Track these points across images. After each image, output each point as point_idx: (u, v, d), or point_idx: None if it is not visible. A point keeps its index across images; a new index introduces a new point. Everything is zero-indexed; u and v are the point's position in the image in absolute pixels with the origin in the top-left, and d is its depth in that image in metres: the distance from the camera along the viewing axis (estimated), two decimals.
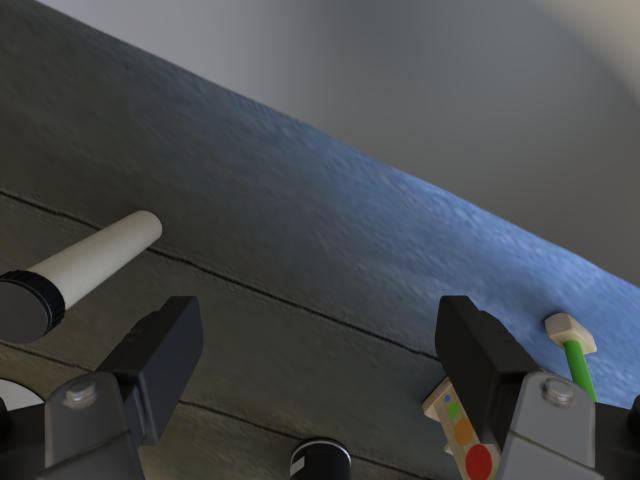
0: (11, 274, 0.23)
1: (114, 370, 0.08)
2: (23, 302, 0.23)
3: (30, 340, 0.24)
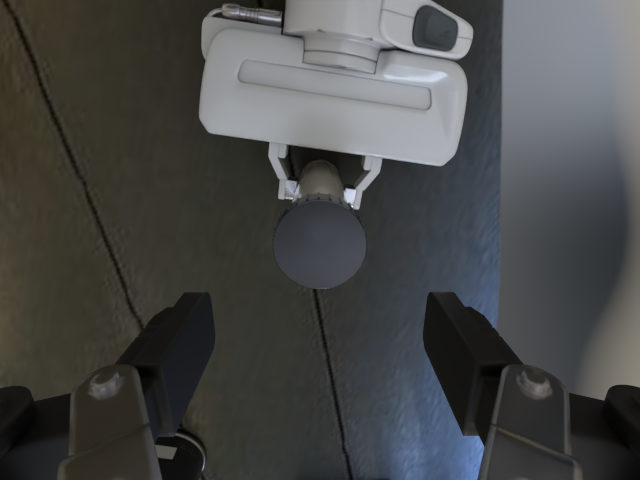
0: (357, 215, 0.18)
1: (134, 363, 0.08)
2: (346, 255, 0.18)
3: (293, 278, 0.18)
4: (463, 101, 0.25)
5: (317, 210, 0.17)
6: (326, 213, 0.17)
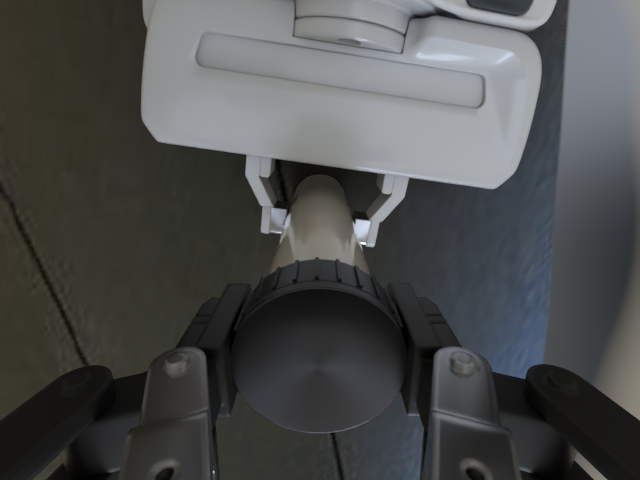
0: None
1: (198, 346, 0.08)
2: (368, 381, 0.09)
3: (271, 418, 0.10)
4: (534, 95, 0.17)
5: (314, 304, 0.09)
6: (332, 309, 0.09)
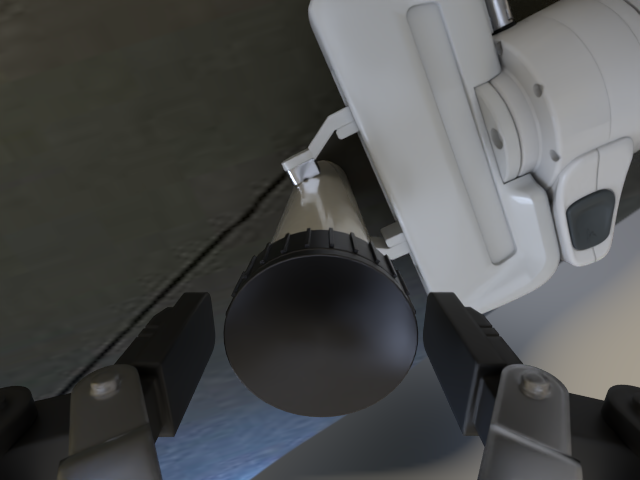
0: None
1: (134, 363, 0.08)
2: (373, 320, 0.08)
3: (335, 413, 0.09)
4: (523, 293, 0.20)
5: (256, 301, 0.08)
6: (273, 292, 0.08)
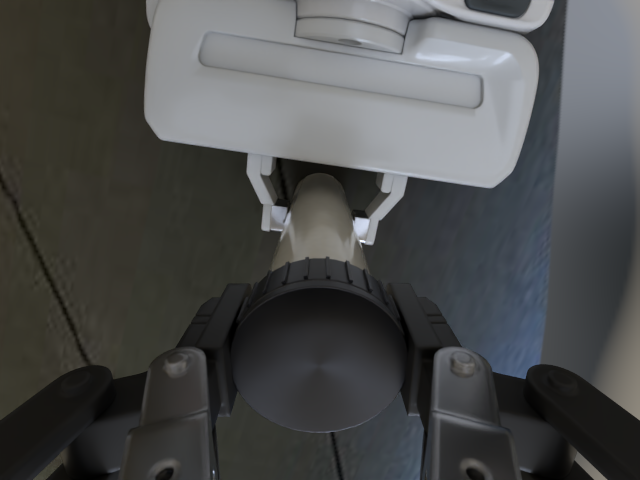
0: (254, 293, 0.10)
1: (198, 346, 0.08)
2: (324, 320, 0.09)
3: (393, 393, 0.10)
4: (531, 95, 0.17)
5: (251, 383, 0.09)
6: (251, 369, 0.09)
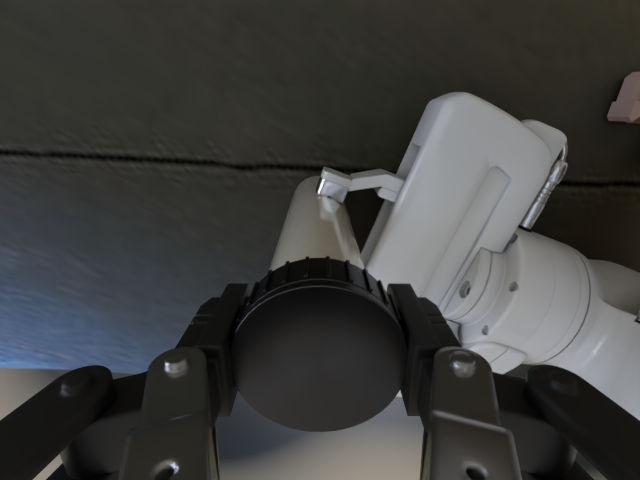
0: (254, 293, 0.10)
1: (197, 346, 0.08)
2: (324, 319, 0.09)
3: (393, 392, 0.10)
4: None
5: (251, 382, 0.09)
6: (251, 368, 0.09)
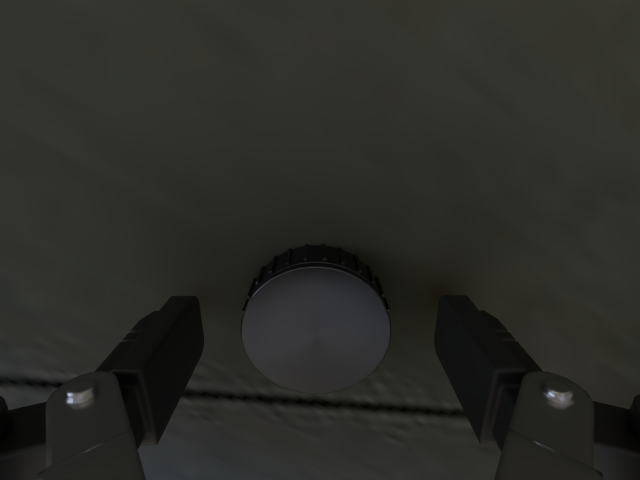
0: (261, 274, 0.11)
1: (115, 370, 0.08)
2: (320, 295, 0.11)
3: (378, 359, 0.11)
4: None
5: (259, 349, 0.11)
6: (259, 337, 0.11)
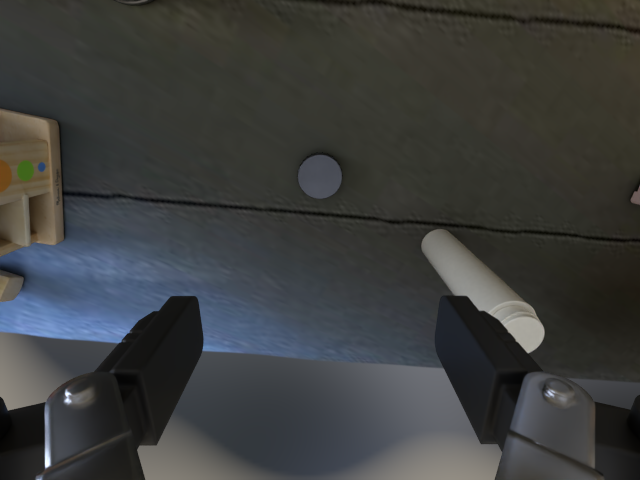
0: (303, 160, 0.38)
1: (114, 370, 0.08)
2: (321, 163, 0.37)
3: (338, 185, 0.38)
4: None
5: (303, 182, 0.38)
6: (303, 178, 0.38)
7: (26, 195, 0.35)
